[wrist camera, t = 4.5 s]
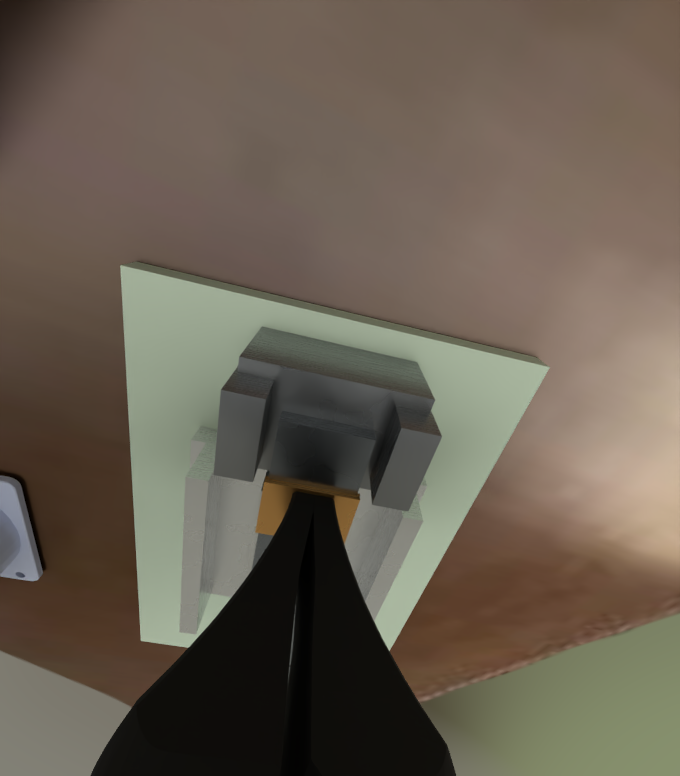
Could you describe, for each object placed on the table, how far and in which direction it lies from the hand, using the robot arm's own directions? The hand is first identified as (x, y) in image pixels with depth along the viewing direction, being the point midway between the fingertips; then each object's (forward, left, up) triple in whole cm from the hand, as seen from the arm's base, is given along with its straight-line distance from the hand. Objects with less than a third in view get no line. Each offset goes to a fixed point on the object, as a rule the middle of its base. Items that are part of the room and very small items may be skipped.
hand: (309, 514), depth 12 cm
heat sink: (0, -5, -4) cm, 6 cm away
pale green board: (0, -6, -5) cm, 8 cm away
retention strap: (0, -5, -1) cm, 5 cm away
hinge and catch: (0, -5, -4) cm, 7 cm away
